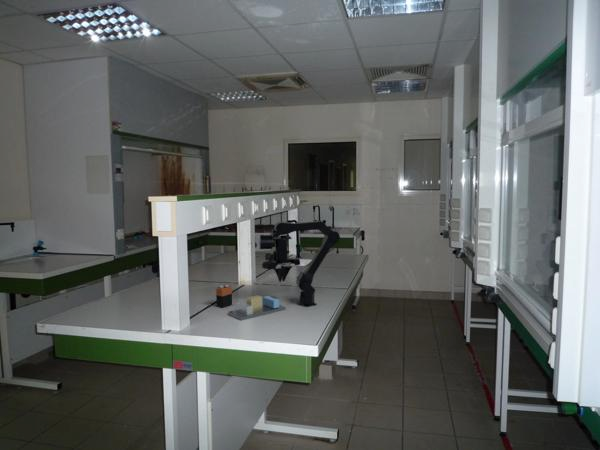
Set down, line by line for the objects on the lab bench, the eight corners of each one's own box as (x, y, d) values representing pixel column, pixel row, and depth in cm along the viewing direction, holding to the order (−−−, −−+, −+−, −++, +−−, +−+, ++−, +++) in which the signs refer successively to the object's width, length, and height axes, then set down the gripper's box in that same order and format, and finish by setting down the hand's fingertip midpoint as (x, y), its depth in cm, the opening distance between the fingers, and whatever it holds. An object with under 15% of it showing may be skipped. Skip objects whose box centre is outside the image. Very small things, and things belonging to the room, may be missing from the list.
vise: (271, 304, 201) (271, 294, 201) (285, 309, 193) (285, 298, 193) (228, 314, 186) (227, 303, 185) (241, 320, 178) (241, 308, 177)
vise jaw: (270, 302, 199) (270, 294, 199) (281, 306, 193) (281, 298, 192) (262, 304, 197) (262, 296, 196) (273, 308, 190) (273, 299, 189)
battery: (216, 306, 198) (215, 286, 198) (226, 303, 204) (225, 283, 203) (222, 308, 196) (222, 287, 195) (232, 304, 202) (232, 284, 201)
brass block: (257, 308, 192) (257, 295, 191) (262, 309, 189) (262, 296, 188) (246, 310, 188) (246, 297, 187) (251, 312, 185) (251, 299, 185)
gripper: (286, 245, 208) (286, 275, 210) (255, 248, 196) (255, 281, 198) (300, 247, 200) (301, 279, 201) (269, 251, 188) (269, 285, 189)
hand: (281, 281), depth 197 cm, fingers closed
